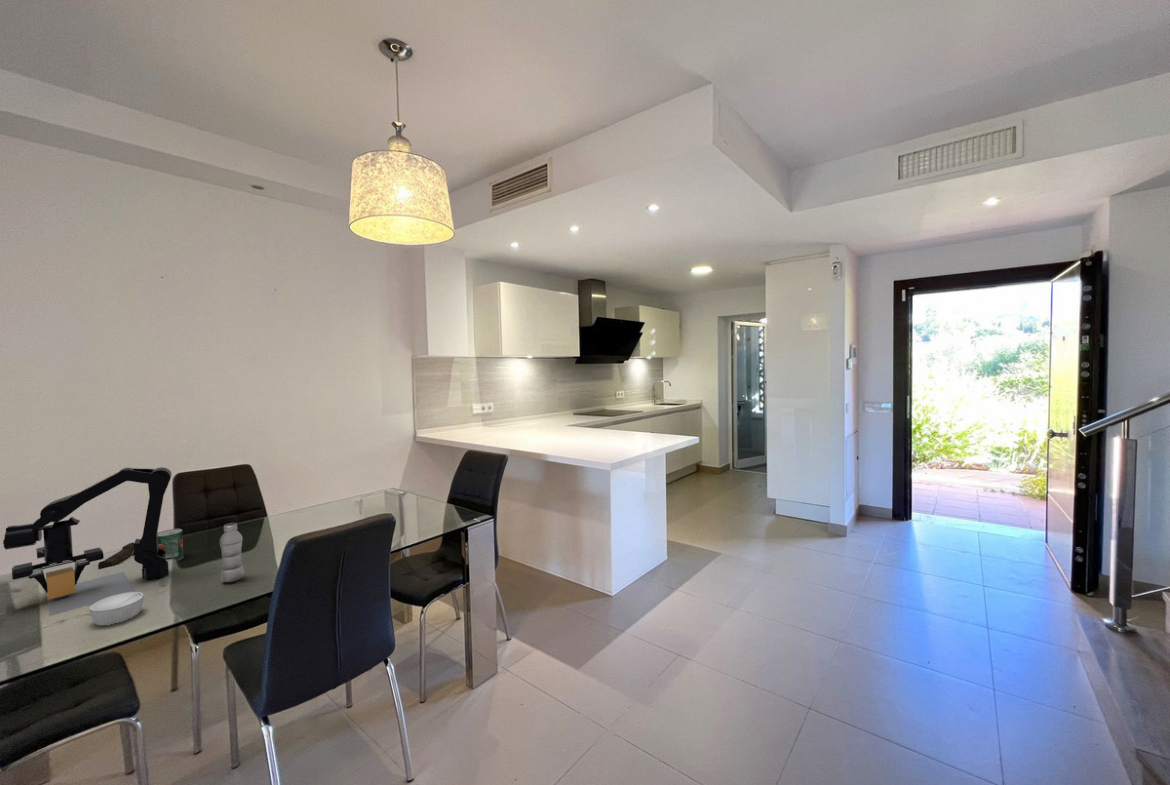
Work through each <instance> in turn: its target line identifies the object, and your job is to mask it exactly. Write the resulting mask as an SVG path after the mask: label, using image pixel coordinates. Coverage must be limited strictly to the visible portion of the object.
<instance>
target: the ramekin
mask: <svg viewBox="0 0 1170 785" xmlns="http://www.w3.org/2000/svg"><path fill="white" fill-rule="evenodd" d="M144 598H145V595H144V593H142V592H140V591H136V592H128V593H122V594H117V595H114V596H110V597H107V598H104V599H102V600H100V601H98V602H96V603H94V604H90V607H89V613H90V614H91V617H92V620H93V623H94V624H95V625H97V626H99V625H107V626H109V625H108V624H113V625H115V624H114V623H117V622H121V621H124V620H126V621H128V620H127V619H129V618H131V617H133V616H135V615H136V616H137V615H138V614H139V613H140V612H141V610H142V605H143V600H144ZM136 616H135V617H136ZM133 618H134V617H133ZM131 619H132V618H131ZM129 620H130V619H129ZM124 622H125V621H124ZM121 623H122V622H121ZM117 624H118V623H117Z"/></svg>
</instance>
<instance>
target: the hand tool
mask: <svg viewBox="0 0 1170 785" xmlns="http://www.w3.org/2000/svg"><path fill="white" fill-rule="evenodd" d="M133 551H134V542H133V541H132V542H129V543H128V544H125V545H124V546H122V547H121V549H120V551H118V552H116V553H114V554H113V555H111V556H109V557H107V558H106V559H104V560H102V561H99V562H98V563H97V567H98V568H97V570H102V569H107V568H110V567H115V565H117V564H119V563H120V562H122V561H123V560H125V559H126V558H129V557H133V556H132V553H133Z"/></svg>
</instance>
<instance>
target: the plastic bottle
mask: <svg viewBox="0 0 1170 785" xmlns="http://www.w3.org/2000/svg"><path fill="white" fill-rule="evenodd" d="M223 532H224V533H223V534H222V535H221V537H220V539H219V547H220V551H221V556H222V557H221V559H222V560H221V561H222V562H221V563H222V564H221V572H220V580H221V581H222V582H223V583H233V582H237V581H239V580H241V579H243V577H244V575H245V569H244V566H243V560H242V546H243V535H242V533H240V532H239V530H238V524H237V522H230V523H226V524H224V525H223Z"/></svg>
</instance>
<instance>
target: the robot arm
mask: <svg viewBox="0 0 1170 785" xmlns="http://www.w3.org/2000/svg"><path fill="white" fill-rule="evenodd" d="M172 475H173V474H172V471H171V470H170V469H169V468H166V467H163V466H162V467H161V466H160V467H156V468H133V467H124V468H122V469H120V470H119V471H117V472H115V473H114V474H112V475H109V476H108V477H106V478H104V479H102V480H100V481H98V482H96V483H94V484H93V485H90V486H89V487H86V488H84V489H83V490H81V491H79V492H76V493H73V494H70V495H67V496H64V497H61V498H59V499H56V500H53V501H51V502H49V503H48V504H47V505H45V506H44V507H43V508H42V509H41V510H40V513H39V516H40V517H39V518H37V519H36V520H35V521H34V522H33V523H27V524H20V525H10V526H9V525H8V526H7V527H6V528H5V533H4V538H3V540H2V541H3V542H2V544H3V548H4V549H5V550H14V549H19V548H24V547H31V546H35V545H36V544H37V542H40V541H42V538H43V546H42V547H37V548H36V559H37V560H38V559H42V558H44V559H43V560H44V562H41V563H37V564H33V562H32V561H31V562H25V563H21V564H17V565H14V566H13V567H11V577H12V580H13V581H14V580H19V579H23V578H28V579H30V580H31V579H35V581H37V582H38V583H39V585H40V586H41V587H42V589H43V590H44V593H45V592H46V593H48V590H47V583H46V575H45V574H44V570H45V569H51V568H54V567H59V566H62V565H63V566H64V565H67V564H72V563H74V568H73V569H74V575H75V586H76V584H77V583H78V581H79V579H80V576H81V574H82V572H83V571H84V570H85V568H86V566H89V565H91V563H93V562H97V561H101V560H103V559H104V560H105V558H104V551H103V549H102V548H101V547H96V548H95V547H94V548H91V549H86V550H83V554H78V555H74V553H73V538H72V527H73V526H77V525H79V524H80V522H81V520H80V519H77V518H75V517H74V516H70V517H69V518H68V519H66V520H65V518H66V517H68V516H69V515H71V514H73V512H75V511H76V510H78V509H79V508H80V507H81V506H83V505H84V504H85V503H88V502H90V501H91V500H93V499H95V498H96V497H99V496H100V495H102V494H104V493H106V492H108V491H110V490H112V489H114V488H116V487H118V486H120V485H121V484H124V483H125V482H133V483H134V482H135V483H139V484H147V486H148V488H147V490H148V496H149V498H148V504H147V509H146V514H145V520H144V525H143V529H142V530H143V532H142V536H141V538H136V539H135V540H134V542H133V543H134V551H133V553H132V556H131V557H133V559H134V561H135V562H136V563H138V564H140V565H142V566H141V567H142V569H141V578H142V579H143V580H144V581H155V580H161V579H163V578H165V577H168V576H169V573H170V572H169V561H167V560H166V556H167V552H166V551H164V550H162V549H160V548H159V543H158V534H157V533H158V531H159V524H160V519H161V513H162V507H163V501H164V496H165V493H166V491H167V489H168V487H169V484H170V481H171V478H172ZM51 523H53V524H51ZM49 524H50V525H49ZM46 593H45V594H46Z"/></svg>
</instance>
